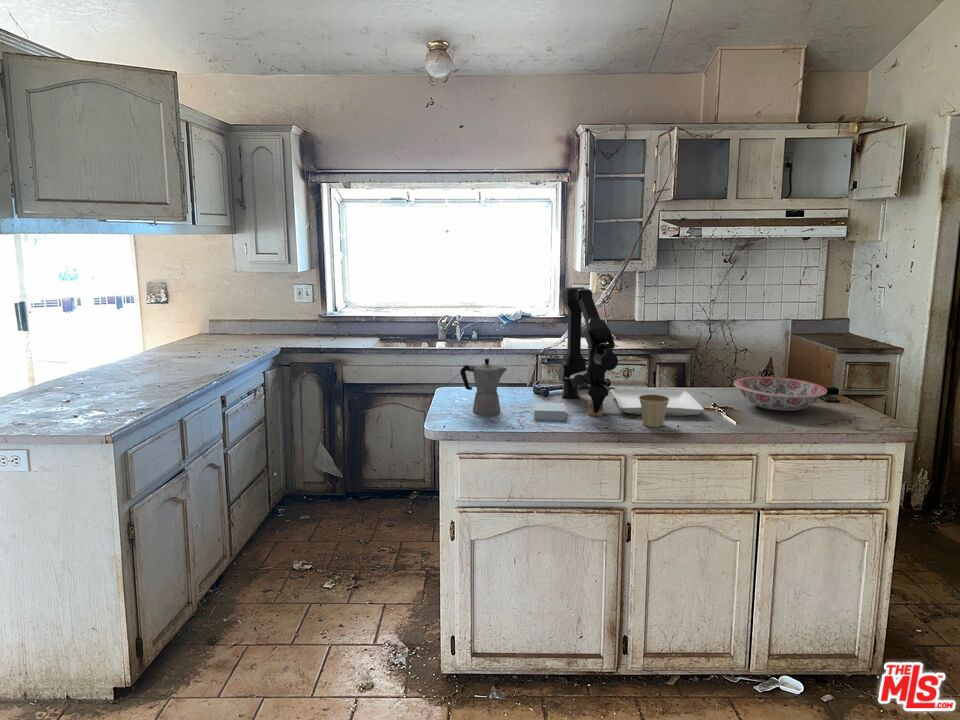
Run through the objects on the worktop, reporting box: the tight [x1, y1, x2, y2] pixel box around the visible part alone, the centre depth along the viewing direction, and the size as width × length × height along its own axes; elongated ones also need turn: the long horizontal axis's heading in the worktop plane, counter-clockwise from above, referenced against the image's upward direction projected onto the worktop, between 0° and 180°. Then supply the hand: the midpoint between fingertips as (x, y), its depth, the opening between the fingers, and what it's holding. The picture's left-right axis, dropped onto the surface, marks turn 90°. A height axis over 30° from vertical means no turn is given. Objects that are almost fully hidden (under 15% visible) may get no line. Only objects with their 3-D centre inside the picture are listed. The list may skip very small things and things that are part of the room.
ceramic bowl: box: [734, 376, 828, 412], centre depth 235 cm, size 29×29×8 cm
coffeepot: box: [459, 358, 508, 416], centre depth 228 cm, size 15×9×18 cm, turn 88°
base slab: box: [533, 402, 567, 421], centre depth 224 cm, size 10×10×3 cm
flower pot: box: [639, 394, 670, 428], centre depth 214 cm, size 9×9×9 cm
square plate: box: [609, 388, 705, 417], centre depth 236 cm, size 27×27×4 cm
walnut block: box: [587, 399, 604, 417], centre depth 227 cm, size 4×4×4 cm
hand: (595, 410), depth 227 cm, fingers closed on walnut block, 4 cm apart
